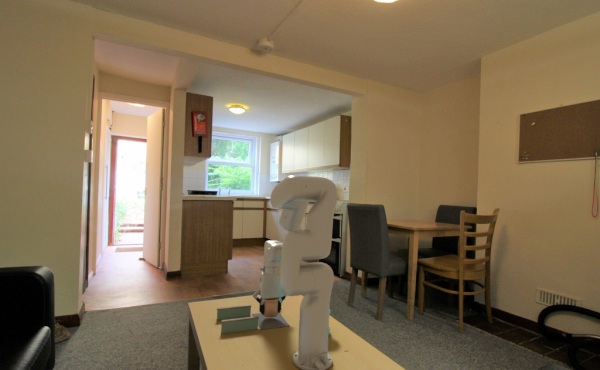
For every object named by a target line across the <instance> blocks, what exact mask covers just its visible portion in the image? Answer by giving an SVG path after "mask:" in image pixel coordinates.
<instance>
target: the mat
mask: <svg viewBox="0 0 600 370" xmlns="http://www.w3.org/2000/svg"><path fill="white" fill-rule="evenodd" d="M254 316H258V317H259V319H258V328H259V329H260V330H261V331H262V330H263V331H264V330H271V329H278V328H279V329H280V328H284V327H285V328H286V327H290V324H289V323H288V321H287V320H286V319H285V317H283V316H282V314H281V312H280V313H278V315H277V316H276V317H265V316H263V315H262V314H261V312H258V313H257V312H255V313H251V317H254Z"/></svg>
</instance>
